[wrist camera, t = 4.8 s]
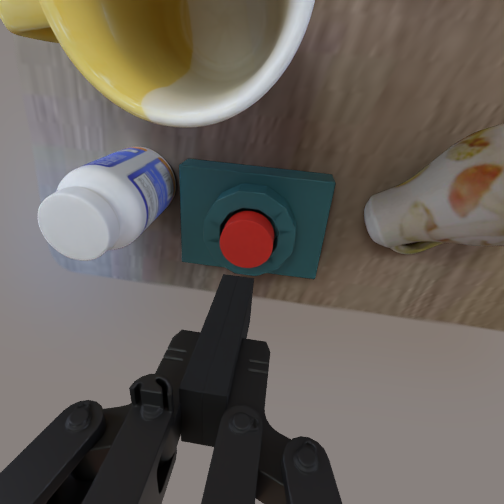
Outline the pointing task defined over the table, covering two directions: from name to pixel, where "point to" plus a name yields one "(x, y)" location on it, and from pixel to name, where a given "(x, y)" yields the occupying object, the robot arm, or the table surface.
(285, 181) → the switch
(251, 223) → the button
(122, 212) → the pill bottle
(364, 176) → the table surface
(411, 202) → the mug
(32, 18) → the mug
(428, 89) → the table surface
